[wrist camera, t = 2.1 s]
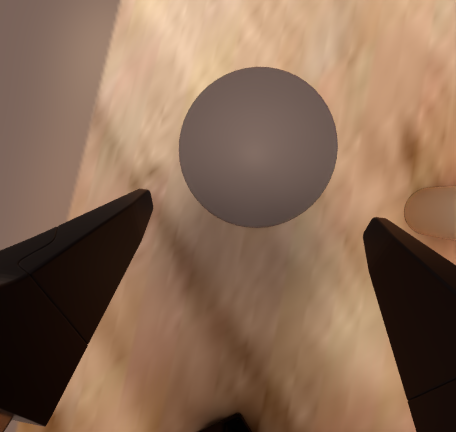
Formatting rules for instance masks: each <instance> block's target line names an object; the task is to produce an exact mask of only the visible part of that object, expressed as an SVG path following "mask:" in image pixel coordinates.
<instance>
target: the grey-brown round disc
mask: <svg viewBox="0 0 456 432" xmlns="http://www.w3.org/2000/svg"><path fill="white" fill-rule="evenodd" d="M337 149H338V144H337V133H336V127H335V123H334V120H333V117H332V115H331V113H330V110H329V108H328V106H327V105H326V103H325V102H324V100H323V99H322V97H321V96H320V95H319V94H318V93H317V91H316V90H315V89H314V88H313V87H311V86H310V85H309V84H308V83H307V82H305V81H304V80H302V79H301V78H299V77H298V76H295V75H293V74H291V73H289V72H286V71H283V70H280V69H275V68H269V67H252V68H245V69H241V70H237V71H234V72H231V73H229V74H226V75H224V76H223V77H221V78H219V79H217V80H216V81H214V82H213V83H212V84H210V85H209V86H208V87H207V88H206V89H205V90H204V91H203V92H201V93H200V95H199V96H198V97H197V98H196V100H195V101H194V102H193V104H192V106H191V107H190V109H189V111H188V113H187V115H186V117H185V119H184V122H183V125H182V129H181V133H180V139H179V159H180V165H181V169H182V173H183V176H184V178H185V181H186V183H187V185H188V187H189V189H190V191H191V192H192V194H193V195H194V196H195V198H196V199H197V200H198V201H199V202H200V204H201V205H202V206H203V207H205V208H206V209H207V210H208V211H209V212H211V213H212V214H214V215H215V216H217V217H218V218H220V219H222V220H224V221H226V222H229V223H232V224H235V225H239V226H244V227H256V228H257V227H268V226H274V225H278V224H281V223H284V222H287V221H289V220H291V219H293V218H295V217H297V216H298V215H300V214H301V213H303V212H304V211H306V210H307V209H308V208H309V207H310V206H311V205H313V203H314V202H315V201H316V200H317V199H318V198H319V197H320V195H321V194H322V193H323V191H324V190H325V188H326V186H327V185H328V183H329V181H330V179H331V176H332V173H333V171H334V168H335V163H336V159H337Z"/></svg>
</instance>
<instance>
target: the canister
mask: <svg viewBox="0 0 456 432" xmlns="http://www.w3.org/2000/svg"><path fill="white" fill-rule="evenodd" d="M404 215H405V219H406V222H407V224H408V225H409V227H410V228H411V229H412V230H414V231H415V232H417V233H420V234H423V235H428V236H434V237H439V238H444V239H450V240H455V241H456V186H443V187H428V188H423V189H420V190H418V191H417V192H415V193H414V194H413V195H412V196H411V197H410V198H409V199H408V201H407V203H406V205H405V210H404Z"/></svg>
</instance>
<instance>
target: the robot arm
mask: <svg viewBox="0 0 456 432" xmlns="http://www.w3.org/2000/svg"><path fill="white" fill-rule="evenodd" d="M152 211H153V203H152V198H151V193H150V191H149V190H146V189H138V190H135V191H133V192H131V193H129V194H127V195H125V196H122V197H120V198H118V199H116V200H114V201H111V202H109V203H107V204H105V205H103V206H100V207H98V208H96V209H94V210H92V211H90V212H87V213H85V214H83V215H81V216H79V217H76V218H74V219H72V220H70V221H68V222H66V223H63V224H61V225H59V226H58V227H54V228H52V229H50V230H48V231H46V232H44V233H41V234H39V235H37V236H35V237H32V238H30V239H27V240H25V241H23V242H20V243H18V244H15V245H13V246H10V247H8V248H5V249H3V250H0V432H4V431H5V429H6V428H7V426H8V425H9V423H10V421H11V420H15V421H20V422H25V423H30V424H35V425H39V426H46V425H47V423H48V421H49V420H50V418H51V416H52V414H53V412H54V410H55V408H56V406H57V404H58V402H59V400H60V398H61V396H62V395H63V393H64V391H65V389H66V387H67V385H68V383H69V381H70V379H71V377H72V375H73V373H74V371H75V369H76V367H77V365H78V363H79V362H80V360H81V358H82V356H83V354H84V352H85V350H86V348H87V346H88V345H87V344H89V342H90V340H91V338H92V336H93V334H94V332H95V330H96V328H97V326H98V324H99V322H100V320H101V318H102V317H103V315H104V313H105V311H106V309H107V307H108V305H109V303H110V301H111V299H112V297H113V295H114V293H115V291H116V289H117V287H118V285H119V284H120V282H121V280H122V278H123V276H124V274H125V272H126V270H127V268H128V266H129V264H130V262H131V260H132V258H133V256H134V254H135V252H136V251H137V249H138V247H139V245H140V243H141V241H142V238H143V236H144V233H145V230H146V228H147V225H148V222H149V219H150V217H151V214H152ZM363 240H364V246H365V252H366V258H367V264H368V269H369V274H370V277H371V281H372V284H373V287H374V291H375V294H376V297H377V301H378V304H379V307H380V311H381V314H382V317H383V321H384V324H385V327H386V331H387V334H388V337H389V341H390V344H391V347H392V351H393V354H394V357H395V361H396V364H397V367H398V371H399V374H400V377H401V381H402V384H403V387H404V391H405V394H406V397H407V400H408V405H409V408H410V411H411V415H412V418H413V421H414V425H415V428H416V431H417V432H456V265H454V264H453V263H451V262H450V261H449V260H447V259H446V258H444V257H443V256H441V255H440V254H438V253H437V252H435V251H434V250H432V249H431V248H429V247H428V246H426V245H425V244H423V243H422V242H420V241H419V240H417V239H416V238H414V237H413V236H411V235H410V234H408V233H407V232H405V231H404V230H402V229H401V228H399V227H398V226H396V225H395V224H393V223H392V222H391V221H389V220H388V219H386V218H379V217H374V218H373V219H372V220H371V221H370V223H369V225H368V226H367V228H366V230H365V231H364V234H363ZM237 419H239V420H237ZM200 432H251V430H250V428H249V427H248V425H247V423H246V422H245V420H244V418H243V417H242V415H241V414H235V415H233V416H231V417H229V418H227V419H225V420H223V421H221V422H219V423H217V424H215V425H213V426H211V427H209V428H207V429H204V430H202V431H200Z"/></svg>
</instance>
